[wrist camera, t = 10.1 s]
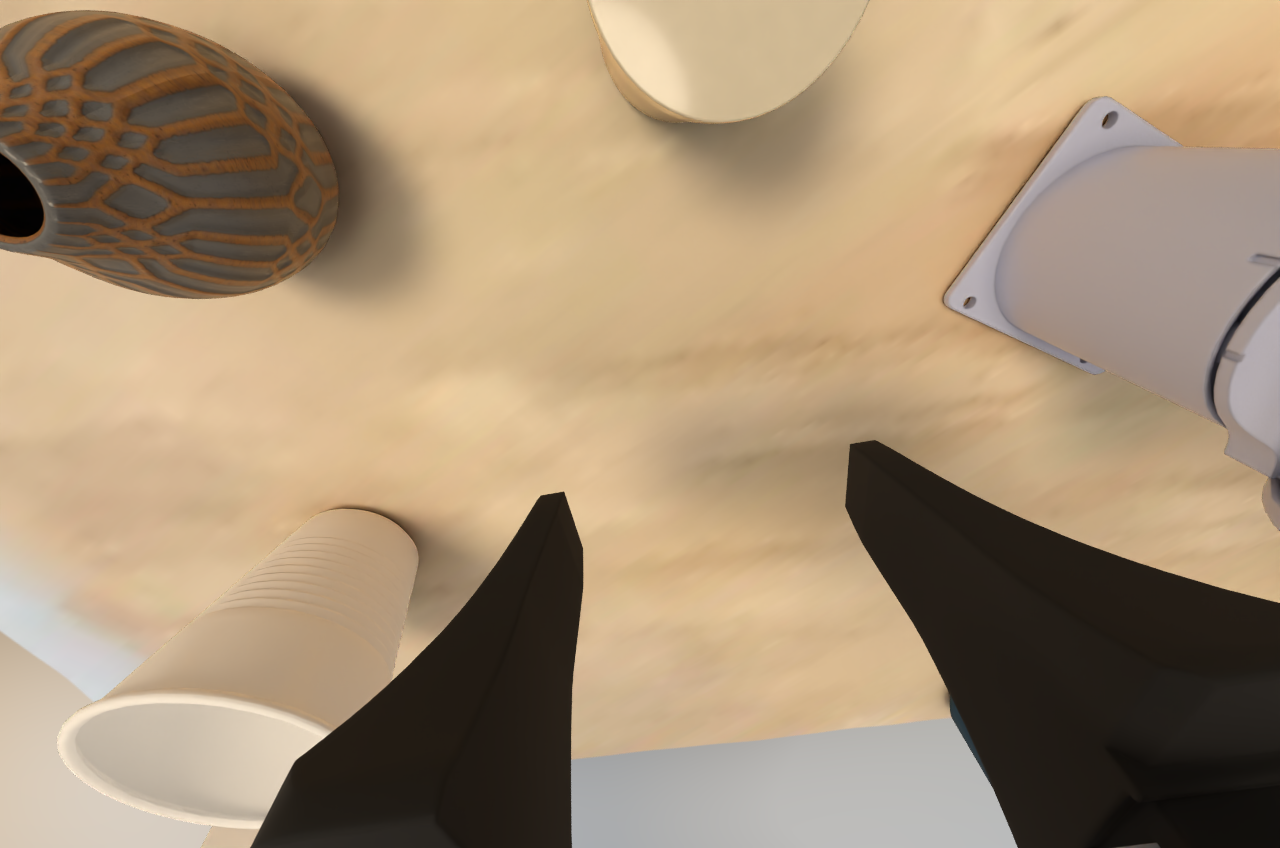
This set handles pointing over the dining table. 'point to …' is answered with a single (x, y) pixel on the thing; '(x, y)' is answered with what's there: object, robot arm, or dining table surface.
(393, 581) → the cup
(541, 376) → the dining table surface
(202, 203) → the vase
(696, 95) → the jar
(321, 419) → the dining table surface
